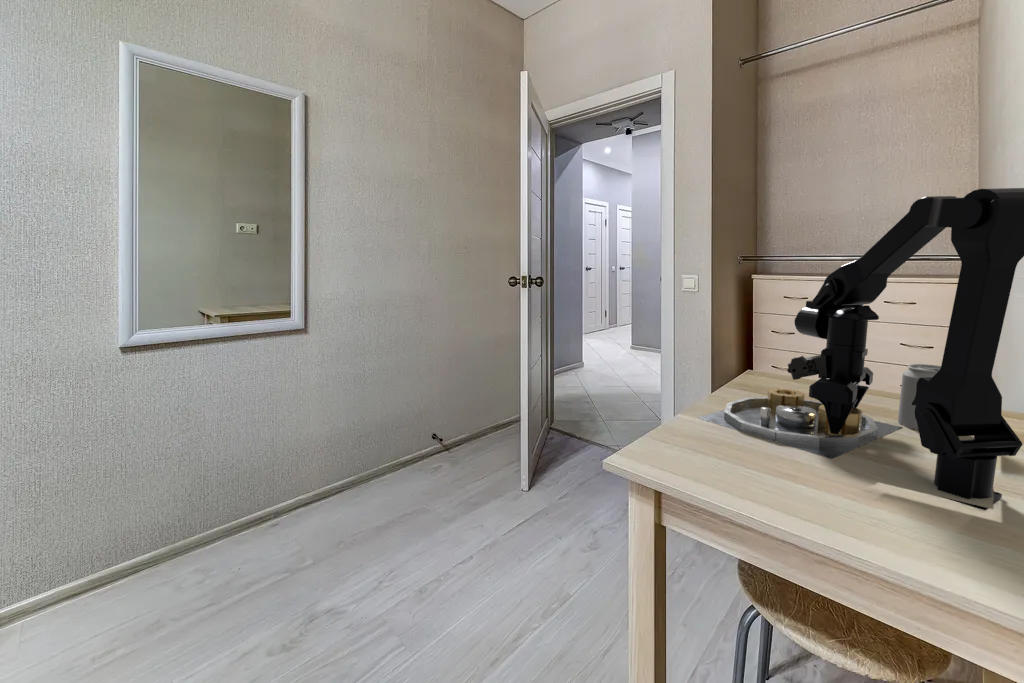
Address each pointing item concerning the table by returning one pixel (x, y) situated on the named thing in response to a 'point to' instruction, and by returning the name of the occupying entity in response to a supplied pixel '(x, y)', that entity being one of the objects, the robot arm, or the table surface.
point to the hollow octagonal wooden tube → (850, 425)
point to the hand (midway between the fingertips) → (838, 428)
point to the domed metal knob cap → (795, 416)
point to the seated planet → (784, 398)
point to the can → (912, 392)
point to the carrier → (762, 423)
